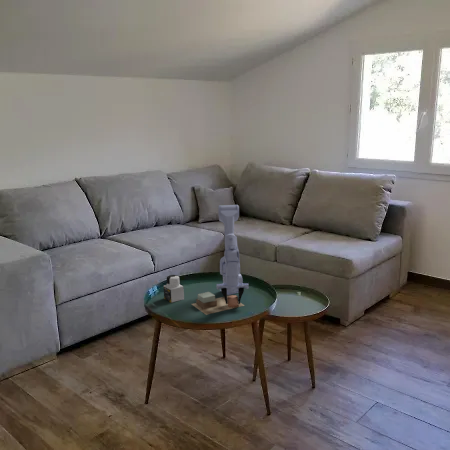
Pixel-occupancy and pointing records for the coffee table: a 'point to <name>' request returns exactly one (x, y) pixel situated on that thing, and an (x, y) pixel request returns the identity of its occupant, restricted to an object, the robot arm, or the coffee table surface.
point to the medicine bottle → (173, 289)
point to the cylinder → (232, 301)
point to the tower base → (206, 304)
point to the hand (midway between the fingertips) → (232, 303)
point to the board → (220, 306)
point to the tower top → (206, 297)
